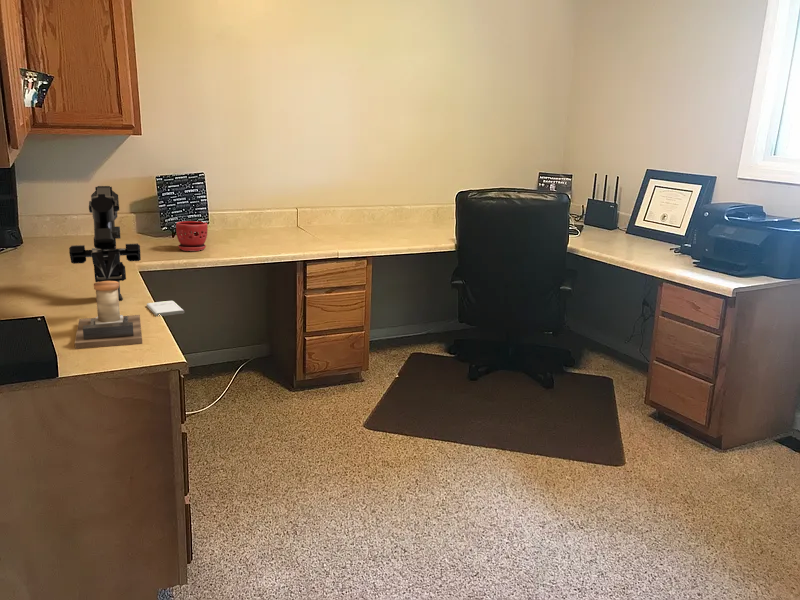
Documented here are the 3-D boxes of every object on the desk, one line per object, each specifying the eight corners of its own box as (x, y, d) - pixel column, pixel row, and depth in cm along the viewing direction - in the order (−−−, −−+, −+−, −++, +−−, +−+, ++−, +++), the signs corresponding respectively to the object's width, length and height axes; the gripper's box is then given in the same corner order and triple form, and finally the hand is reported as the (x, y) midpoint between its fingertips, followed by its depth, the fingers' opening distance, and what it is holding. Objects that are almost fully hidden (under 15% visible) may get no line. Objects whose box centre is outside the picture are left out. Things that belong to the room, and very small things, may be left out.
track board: (79, 323, 194) (79, 318, 194) (140, 319, 200) (139, 314, 199) (75, 348, 174) (74, 343, 174) (142, 343, 180) (142, 337, 180)
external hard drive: (156, 318, 204) (146, 307, 214) (184, 315, 208) (173, 304, 218) (156, 313, 203) (146, 302, 213) (184, 309, 208) (173, 299, 218)
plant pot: (207, 252, 296) (206, 224, 293) (175, 252, 293) (174, 224, 290) (209, 246, 308) (208, 220, 305) (178, 246, 306) (177, 220, 302)
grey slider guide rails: (86, 321, 191) (85, 311, 191) (132, 318, 196) (131, 308, 195) (83, 339, 177) (82, 328, 176) (133, 336, 181) (132, 325, 180)
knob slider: (96, 320, 192) (92, 281, 189) (123, 318, 195) (120, 279, 192) (95, 327, 186) (91, 287, 183) (123, 325, 188) (120, 285, 185)
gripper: (66, 217, 192) (67, 264, 185) (138, 216, 199) (141, 261, 192) (70, 240, 201) (72, 285, 194) (138, 238, 208) (142, 282, 201)
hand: (107, 278), depth 195 cm, fingers closed
